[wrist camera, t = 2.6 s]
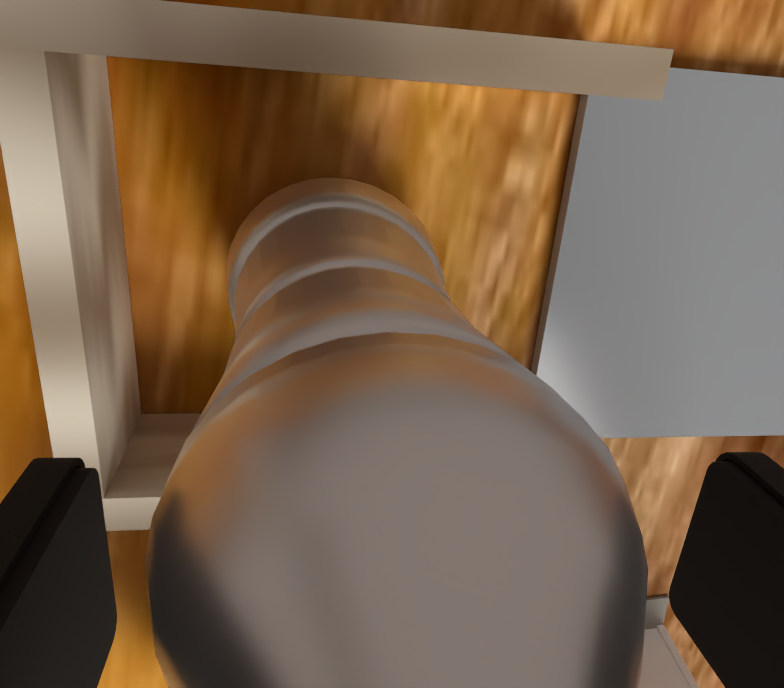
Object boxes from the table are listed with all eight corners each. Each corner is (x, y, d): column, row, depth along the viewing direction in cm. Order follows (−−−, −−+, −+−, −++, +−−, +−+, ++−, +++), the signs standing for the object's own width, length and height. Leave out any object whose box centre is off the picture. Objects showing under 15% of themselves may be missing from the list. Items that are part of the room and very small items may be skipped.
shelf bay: (56, 5, 17) (-27, -18, 13) (587, 54, 20) (673, 49, 15) (110, 441, 23) (65, 532, 19) (519, 435, 26) (567, 513, 21)
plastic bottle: (294, 123, 20) (324, 775, 1) (461, 234, 22) (1282, 1030, 4) (198, 289, 21) (-342, 1549, 3) (363, 376, 24) (598, 1397, 5)
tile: (586, 60, 20) (594, 60, 20) (948, 93, 22) (964, 94, 22) (519, 431, 26) (524, 439, 25) (815, 427, 28) (825, 434, 27)
